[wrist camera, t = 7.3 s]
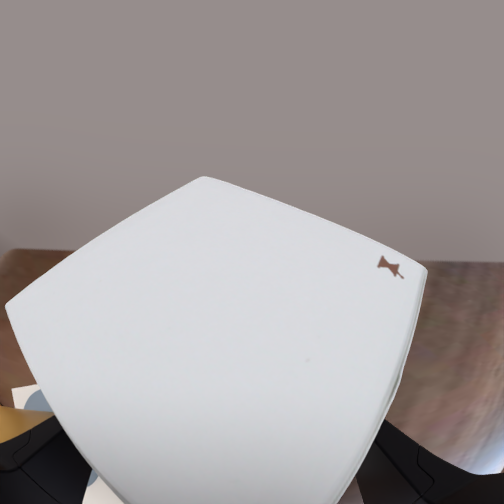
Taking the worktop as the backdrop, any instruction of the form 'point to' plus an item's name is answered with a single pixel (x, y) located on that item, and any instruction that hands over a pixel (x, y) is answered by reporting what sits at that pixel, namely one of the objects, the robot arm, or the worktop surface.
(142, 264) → the supplement box
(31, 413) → the amber tube
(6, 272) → the worktop surface
